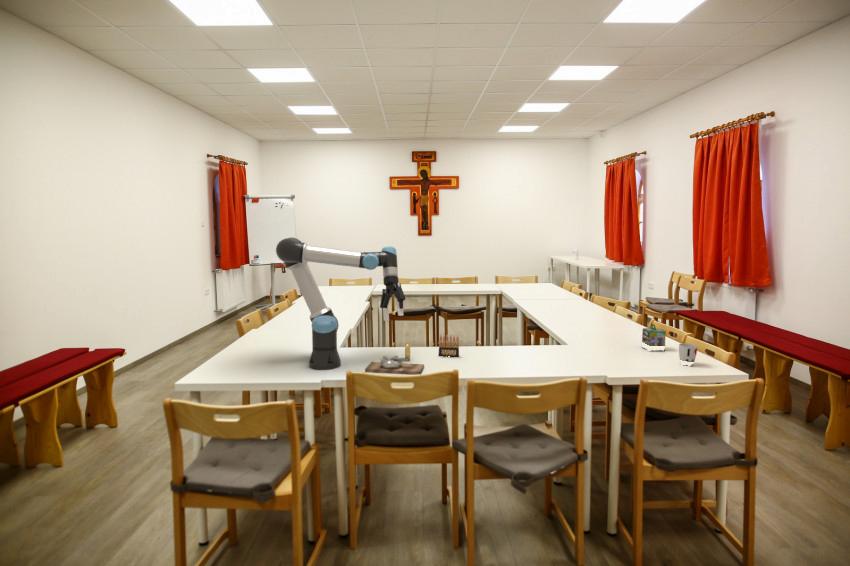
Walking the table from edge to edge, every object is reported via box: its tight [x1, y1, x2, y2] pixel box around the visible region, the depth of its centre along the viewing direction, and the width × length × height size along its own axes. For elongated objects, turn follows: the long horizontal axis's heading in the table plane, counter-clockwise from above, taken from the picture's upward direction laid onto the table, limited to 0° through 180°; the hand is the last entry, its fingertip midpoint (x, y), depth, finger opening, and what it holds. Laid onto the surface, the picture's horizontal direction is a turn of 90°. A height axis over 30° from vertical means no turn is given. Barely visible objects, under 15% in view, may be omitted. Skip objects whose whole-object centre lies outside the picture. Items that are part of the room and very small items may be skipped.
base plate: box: [364, 361, 425, 375], centre depth 225 cm, size 26×12×2 cm, turn 82°
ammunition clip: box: [437, 333, 460, 358], centre depth 248 cm, size 11×2×12 cm, turn 82°
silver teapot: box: [379, 343, 411, 369], centre depth 224 cm, size 14×10×11 cm
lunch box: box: [641, 322, 667, 347], centre depth 266 cm, size 9×9×15 cm
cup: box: [678, 342, 698, 363], centre depth 237 cm, size 8×8×10 cm
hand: (393, 318), depth 235 cm, fingers open, 13 cm apart
